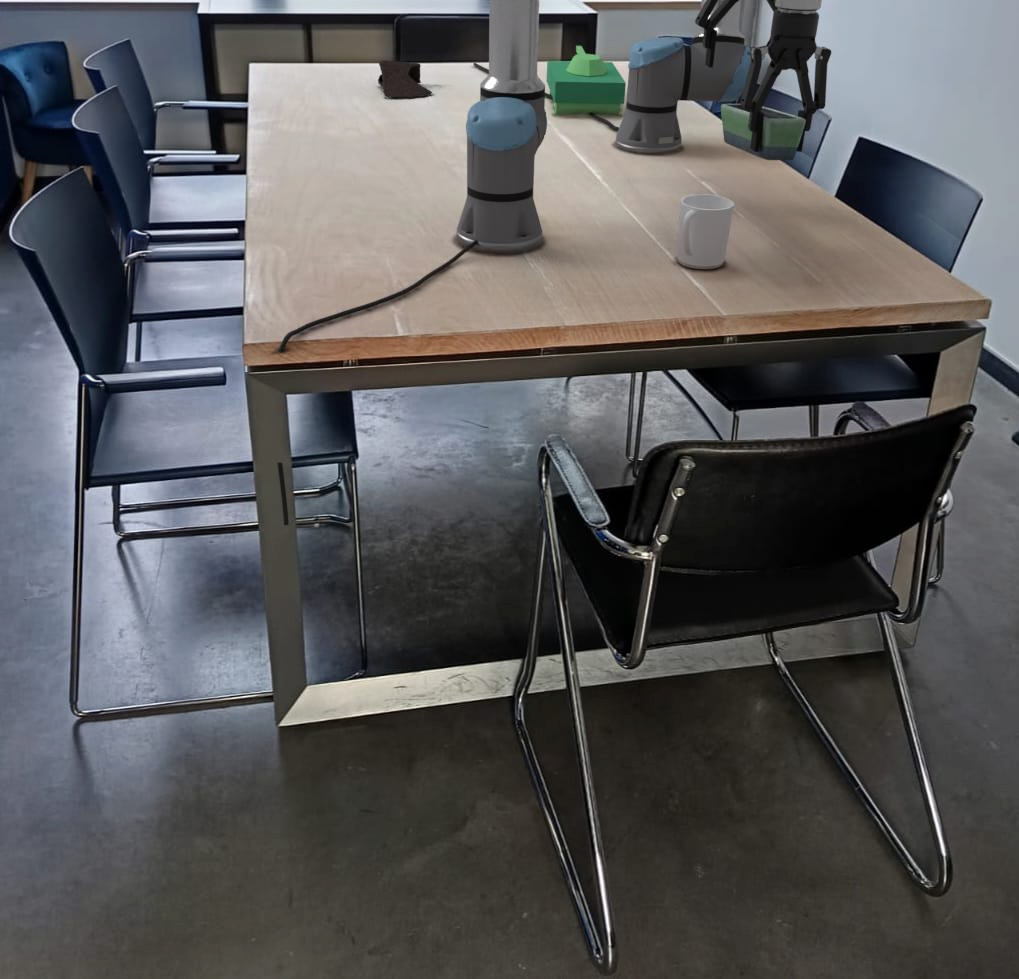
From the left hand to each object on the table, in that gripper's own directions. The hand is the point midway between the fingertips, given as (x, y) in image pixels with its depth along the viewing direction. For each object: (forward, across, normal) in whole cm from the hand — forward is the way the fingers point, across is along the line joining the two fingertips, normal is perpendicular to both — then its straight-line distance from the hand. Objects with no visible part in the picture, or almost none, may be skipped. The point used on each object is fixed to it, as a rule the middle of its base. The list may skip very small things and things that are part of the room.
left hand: (775, 149), depth 194 cm
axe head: (+16, +62, -125) cm, 140 cm away
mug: (+15, +17, +15) cm, 27 cm away
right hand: (-9, 0, -25) cm, 27 cm away
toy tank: (+15, +14, -109) cm, 111 cm away
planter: (+3, 0, -9) cm, 10 cm away
